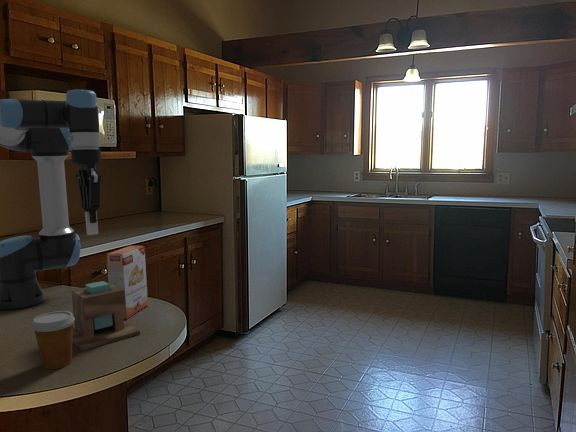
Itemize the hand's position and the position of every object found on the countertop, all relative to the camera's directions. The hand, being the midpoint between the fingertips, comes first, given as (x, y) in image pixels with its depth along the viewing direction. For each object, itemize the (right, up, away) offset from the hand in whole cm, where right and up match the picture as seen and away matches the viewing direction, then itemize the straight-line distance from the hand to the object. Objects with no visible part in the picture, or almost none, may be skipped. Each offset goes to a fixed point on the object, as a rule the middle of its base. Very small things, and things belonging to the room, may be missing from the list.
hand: (92, 234), depth 132 cm
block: (+1, -26, +3) cm, 26 cm away
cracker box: (+3, -26, +22) cm, 35 cm away
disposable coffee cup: (-2, -31, -15) cm, 35 cm away
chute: (+1, -29, +3) cm, 29 cm away
